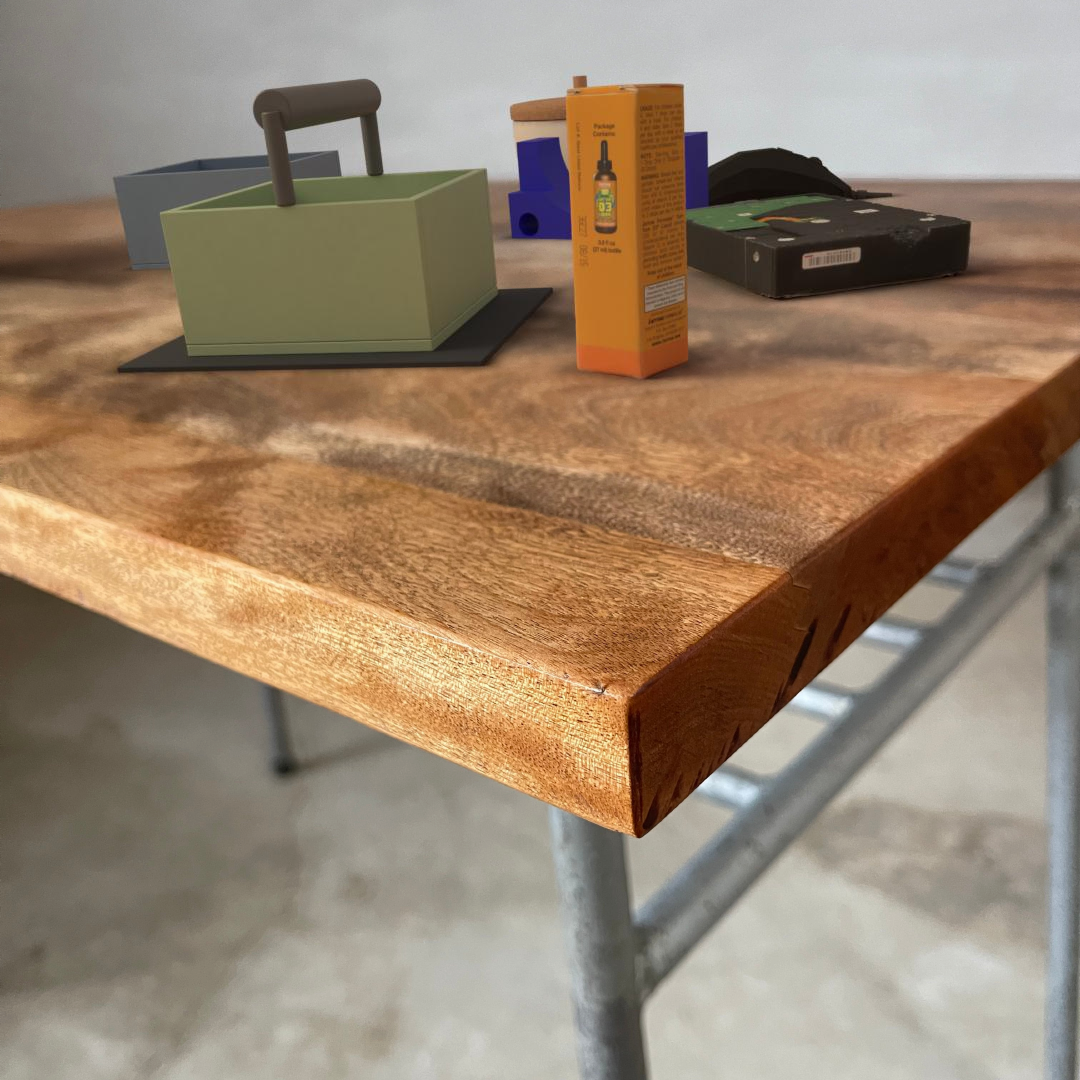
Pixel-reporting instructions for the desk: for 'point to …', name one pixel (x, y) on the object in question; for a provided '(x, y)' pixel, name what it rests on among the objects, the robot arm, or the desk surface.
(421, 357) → the mat
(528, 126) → the trinket box
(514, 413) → the desk surface
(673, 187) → the supplement box
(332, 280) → the top basket
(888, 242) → the disk drive
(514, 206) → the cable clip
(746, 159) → the gaming mouse
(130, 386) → the desk surface
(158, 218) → the box
